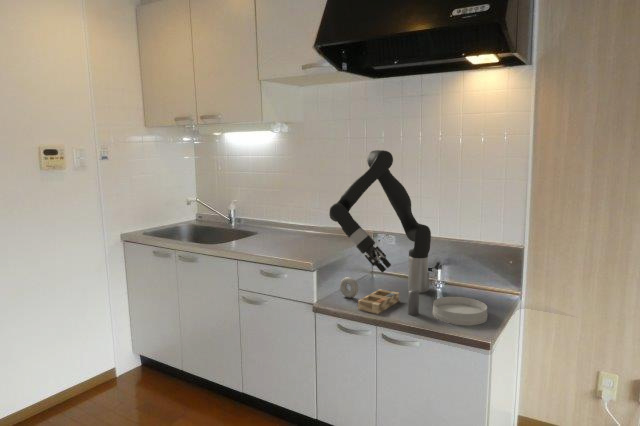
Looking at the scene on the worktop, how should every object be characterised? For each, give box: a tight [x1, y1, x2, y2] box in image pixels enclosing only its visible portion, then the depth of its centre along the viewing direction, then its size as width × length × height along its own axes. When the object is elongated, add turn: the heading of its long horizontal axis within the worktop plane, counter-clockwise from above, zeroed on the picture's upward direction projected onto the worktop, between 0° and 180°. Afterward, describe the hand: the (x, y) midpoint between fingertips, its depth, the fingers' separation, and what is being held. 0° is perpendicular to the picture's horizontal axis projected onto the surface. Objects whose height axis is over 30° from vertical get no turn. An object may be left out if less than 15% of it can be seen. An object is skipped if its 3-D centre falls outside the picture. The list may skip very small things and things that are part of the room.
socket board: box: [357, 288, 400, 315], centre depth 209 cm, size 20×10×4 cm, turn 145°
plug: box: [407, 290, 420, 317], centre depth 198 cm, size 4×4×10 cm
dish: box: [432, 296, 488, 326], centre depth 196 cm, size 22×22×5 cm
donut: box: [339, 276, 359, 299], centre depth 220 cm, size 10×4×10 cm, turn 50°
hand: (387, 268), depth 201 cm, fingers open, 8 cm apart
